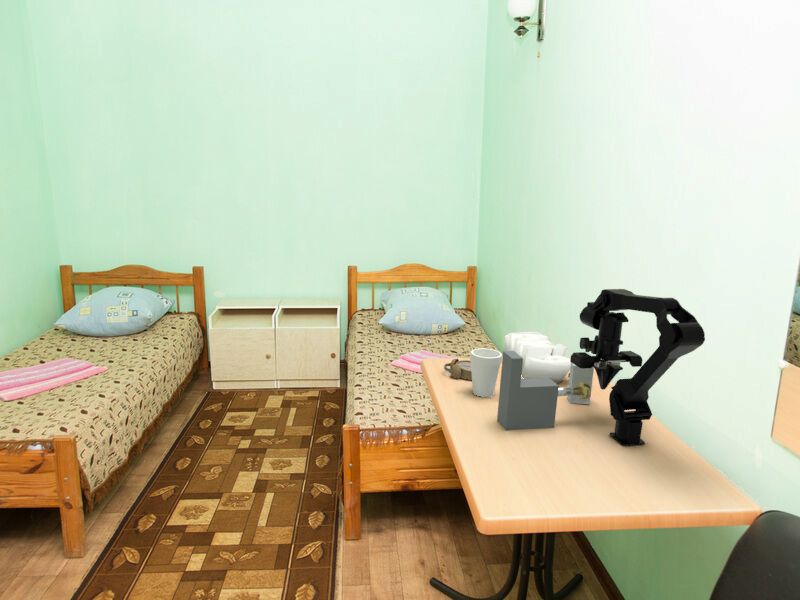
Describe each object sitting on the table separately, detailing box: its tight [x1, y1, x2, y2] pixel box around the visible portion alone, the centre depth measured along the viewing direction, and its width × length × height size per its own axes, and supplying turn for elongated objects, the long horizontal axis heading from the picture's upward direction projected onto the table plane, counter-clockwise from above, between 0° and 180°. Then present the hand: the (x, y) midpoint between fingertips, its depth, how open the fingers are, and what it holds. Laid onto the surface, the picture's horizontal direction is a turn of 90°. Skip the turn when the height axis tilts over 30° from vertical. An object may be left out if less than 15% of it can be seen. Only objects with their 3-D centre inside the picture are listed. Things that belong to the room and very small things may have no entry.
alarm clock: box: [443, 358, 472, 381], centre depth 189 cm, size 11×5×15 cm
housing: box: [496, 350, 560, 431], centre depth 152 cm, size 6×14×20 cm, turn 102°
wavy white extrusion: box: [504, 330, 571, 384], centre depth 198 cm, size 35×16×11 cm, turn 5°
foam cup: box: [469, 347, 503, 398], centre depth 173 cm, size 10×9×13 cm
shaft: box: [558, 382, 592, 399], centre depth 154 cm, size 5×13×5 cm, turn 102°
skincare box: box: [566, 363, 595, 405], centre depth 170 cm, size 6×4×12 cm
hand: (602, 389), depth 157 cm, fingers closed
